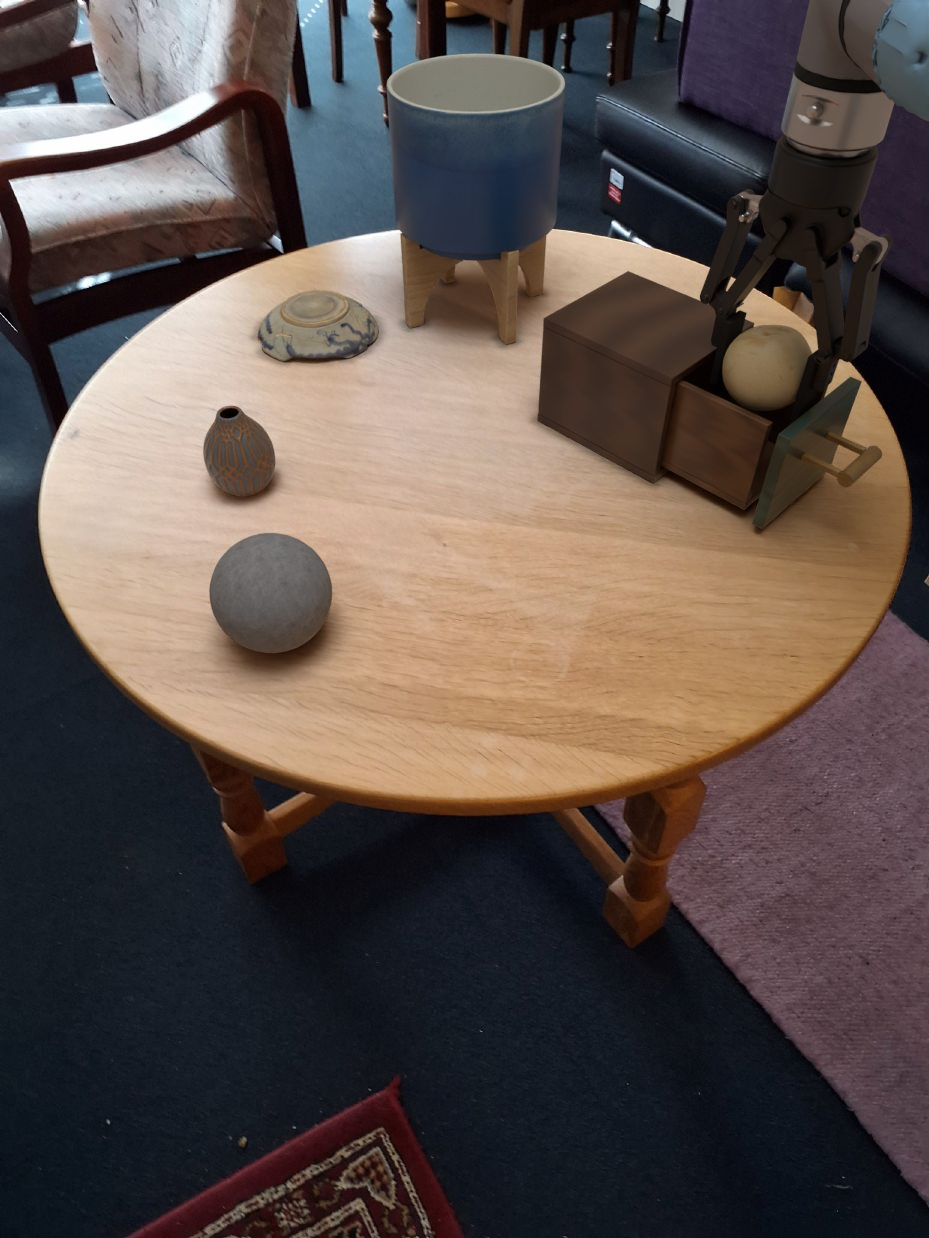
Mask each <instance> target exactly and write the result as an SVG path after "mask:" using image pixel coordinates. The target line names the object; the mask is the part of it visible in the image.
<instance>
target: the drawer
mask: <svg viewBox="0 0 929 1238" xmlns="http://www.w3.org/2000/svg"><path fill="white" fill-rule="evenodd" d="M714 360H715V357H714V358H712V359H711V360H709V361H708V362H706V363H705V364H703V365H702V366H700V367H699V368H697V369H696V370H695V371H693V372H692V373H690V374H689V375H687V376H686V377H684V378H683V379H681V380H680V381H678V382H677V383H676V387H675V392H674V397H673V402H672V408H671V413H670V418H669V424H668V429H667V434H666V439H665V445H664V450H663V455H662V461H661V466H662V467H664V468H666V469H668V470H670V471H669V472H671V473H673V474H676V475H677V476H679V477H681V478H683V479H685V480H687V481H688V482H691V483H692V484H694V485H696V486H699V487H700V488H701V489H704V490H705V491H708V492H710V493H711V494H713V495H715V496H717V497H718V498H721V499H722V500H724V501H727V502H729V503H730V504H732V505H733V506H736V507H738V508H740V509H741V510H746V509H747V508H748V507H749V506H751V505H752V504H753V503H754V502H755V501H757V499H758V501H757V505H756V508H755V511H754V515H753V516H752V517H753V518H752V521H751V524H752V525H754V526H756V527H758V528H759V529H760V530H763V529H764V528H765V527H766V526H767V525H769V524H770V523H771V522H772V521H773V520H775V518H776V517H778V516H779V514H782V512H783V511H784V510H786V509H787V508H788V507H789V506H790V505H792V504H793V503H794V502H795V501H796V500H797V499H799V497H800V496H801V495H803V494H804V493H805V492H806V491H807V490H809V488H811V487H812V486H813V485H814V484H816V483H817V481H819V480H820V479H821V478H822V477H823V476H824V475H826V474H828V475H831V476H833V477H835V478H836V481H837V483H838V485H839V486H841V487H843V488H850V487H851V486H853V485H854V484H855V483H856V482H857V481H858V480H859V479H860V478H862V476H864V475H865V473H867V472H868V471H869V470H870V469H871V468H872V467H873V466H874V465H876V463H878V462H879V461H880V460H881V459H882V457H883V451H882V449H881V448H880V447H879V446H877V445H870V446H868V447H865V446H863V445H862V444H859V443H857V442H855V441H852V440H850V439H848V438H846V437H844V436H843V435H844V433H845V429H846V426H847V424H848V423H847V422H848V420H849V417H850V414H851V412H852V410H853V407H854V404H855V401H856V398H857V396H858V393H859V391H860V387H861V385H862V380H860V379H857V378H855V377H853V376H849V377H848V378H847V379H846V380H844V381H843V382H841V383H840V384H839V385H838V386H836V387H835V388H834V389H833V390H832V391H830V392H829V393H828V394H827V391H828V388H829V385H828V386H827V387H826V388H825V389H823V390H822V391H821V392H819V391H818V393H817V396H816V399H815V402H814V405H813V407H812V408H811V409H809V410H808V411H807V412H806V413H804V414H803V415H802V416H801V417H799V418H798V419H797V420H796V421H792V420H789V419H790V415H791V412H792V409H793V405H794V402H795V401H794V402H793V403H792V404H790V405H788V406H786V407H784V408H781V409H778V410H772V411H754V410H750V409H747V408H745V407H743V406H741V405H740V404H739V403H737V402H736V401H735V400H734V399H733V398H732V396H731V395H730V394H729V392H728V391H727V389H726V387H725V385H724V382H723V381H722V382H721V383H719V384H718V385H713V384H711V383H710V378H711V374H712V369H713V365H714ZM826 394H827V395H826ZM839 446H840V447H841V448H845V449H846V450H849V451H851V452H852V453H855V454H857V455H858V456H857V457H855V459H853V460H852V461H851V462H850V463H849V464H848V465H847V466H846V467H845V468H843V469H842V468H839V467H837V466H835V465H833V461H834V459H835V456H836V454H837V452H838V451H837V450H838V448H839Z"/></svg>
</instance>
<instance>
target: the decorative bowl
mask: <svg viewBox="0 0 929 1238" xmlns="http://www.w3.org/2000/svg"><path fill="white" fill-rule="evenodd" d="M378 335H379V325H378V321H377V320H376V319H375V317H374V315H372V313H371V312H370V311H369V309H367V308H366V307H365V306H363V304H362V303H360V302H358V301H357V300H355V299H353V298H351V297H348V296H346V295H343V294H341V293H339V292H337V291H332V290H326V289H316V290H306V291H302V292H299V293H295V294H293V295H291V296H290V297H288V298H287V299H285V300H284V301H283V302H280V303H278V304H277V305H276V306H275V307H273V308H272V309H271V310H270V311H269V312H268V313H267V314H266V316H265V317H264V319H263V320H262V322H261V323H260V326H259V328H258V330H257V337H259V338H261V346H262V347H261V349H262V351H263V352H264V353H265V354H267V355H268V356H269V357H271V358H275V359H276V360H278V361H281V362H284V363H285V362H286V361H288V360H290V359H293V358H295V359H297V358H303V359H328V358H344V359H352V358H353V357H355V356H358V355H360V354H361V353H363V352H364V351H365V350H367V349H368V345H371V344H372V343H374V342H375V341H376V340H377V338H378Z"/></svg>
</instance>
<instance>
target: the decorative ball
mask: <svg viewBox="0 0 929 1238" xmlns="http://www.w3.org/2000/svg"><path fill="white" fill-rule="evenodd" d="M223 553H224V554H222V556H220V558H219V559H218V561H217V563H216V565H215V567H214V569H213V572H212V575H211V578H210V583H209V589H208V590H209V591H208V593H209V602H210V608H211V611H212V614H213V616H214V618H215V620H216V622H217V624H218V626H219V627H220V629H221V630H222V631H223V632H224V633H225V634H226V635H227V637H229V638H230V639H231V640H232V641H234V643H237V644H238V645H240V646H241V647H243V648H246V649H247V650H251V651H253V652H258V653H265V654H278V653H286V652H289V651H292V650H295V649H297V648H299V647H301V646H302V645H304V644H306V643H307V642H309V641H310V640H311V639H313V637H315V636H316V634H318V632H319V631H320V630H321V629H322V627H323V626H324V625H325V622H326V620H327V618H328V616H329V614H330V611H331V607H332V602H333V584H332V579H331V576H330V572H329V570H328V568H327V565H326V564H325V562H324V560H322V558H321V556H320V555H319V554H318V553H317V551H315V550H314V548H313V547H311V546H310V545H308V544H307V543H305V542H304V541H302V540H301V539H299V538H296V537H294V536H291V535H289V534H283V533H278V532H263V533H257V534H253V535H250V536H247V537H244V538H243V539H241V540H239V541H237V542H236V543H234V544H233V545H231V546H230V547H229V548H227V550H226V552H223Z"/></svg>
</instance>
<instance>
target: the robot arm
mask: <svg viewBox="0 0 929 1238" xmlns="http://www.w3.org/2000/svg"><path fill="white" fill-rule="evenodd" d="M894 105H896V106H897V107H902V108H903V109H904V110H906V112H908V113H910V114H914V115H915V116H917V117H918V118H920V119H922V120H925V121H926V122H929V0H809V2H808V7H807V11H806V15H805V20H804V25H803V29H802V34H801V38H800V43H799V48H798V52H797V55H796V61H795V65H794V69H793V73H792V78H791V82H790V85H789V91H788V94H787V99H786V102H785V107H784V111H783V116H782V120H781V125H780V130H781V131H782V133H783V134H782V136H781V137H780V138H778V139H777V141H776V144H775V148H774V153H773V157H772V161H771V167H770V170H769V171H770V172H769V174H768V179H767V184H768V185H767V186H768V187H767V189H766V191H765V193H764V194H763V195H759V194H756V193H755V191H754V190H753V189H751V188H748V189H747V188H746V189H745V190H743V191H741V192H740V193H737V194H736V195H734V196H732V197H731V198H729V199H728V200H727V203H726V216H725V217H726V218H725V221H726V222H725V226H724V229H723V232H722V235H721V237H720V240H719V243H718V246H717V248H716V250H715V253H714V256H713V258H712V261H711V264H710V267H709V270H708V272H707V275H706V277H705V280H704V282H703V285H702V288H701V291H700V293H699V300H700V301H701V302H702V303H703V304H709V305H710V306H712V307H713V308H714V310H715V314H716V318H715V323H714V328H713V332H712V337H711V344H712V345H713V346H715V347H717V351H716V356H715V360H714V365H713V369H712V374H711V378H710V383H711V384H713V385H718V384H719V383H721V382H722V381H723V376H722V367H723V360H724V356H725V353H726V351H727V349H728V347H729V346H730V344H731V343H732V342H733V341H734V339H735V338H736V337H738V336H739V335H740V334H741V333H742V330H743V326H744V322H745V319H746V317H747V312H746V311H743V310H741V309H739V310H738V308H740V307H741V306H743V305H744V304H745V300H746V299H747V298H748V296H749V295H750V294H751V292H752V291H753V289H755V287H756V286H757V284H758V283H759V281H760V280H762V278H763V276H764V275H765V274H766V272H767V271H768V270H769V268H770V267H771V266H772V264H773V263H774V262H775V261H776V259H781V260H789V261H792V262H794V263H796V264H797V265H798V266H800V267H803V268H805V272H806V279H807V281H808V282H809V283H810V287H811V296H812V306H813V315H814V324H815V333H816V344H817V349H816V350H815V351H814V352H812V354H811V355H810V356H808V360H807V363H806V366H805V369H804V373H803V376H802V379H801V383H800V386H799V389H798V392H797V396H796V399H795V402H794V405H793V409H792V412H791V415H790V419H789V420H792V421H796V420H797V419H798V418H799V417H801V416H802V415H803V414H804V413H806V412H807V411H808V410H809V409H811V408H812V407H813V405H814V402H815V399H816V396H817V393H818V391H819V392H821V391H822V390H823V389H825V388H826V387H827V386H828V387H829V386H830V384H831V383H832V382H833V379H834V376H835V373H836V372H837V371H836V370H837V368H838V365H839V361H840V360H842V362H845V363H850V362H852V361H853V360H854V359H856V358H857V357H859V356H860V355H861V354H862V353H863V352H864V351H866V350H867V349H868V346H869V341H870V335H871V329H872V324H873V323H872V322H873V317H874V311H875V305H876V299H877V293H878V287H879V282H880V275H881V268H882V264H883V262H884V260H885V259H886V257H887V256H888V253H889V251H890V249H891V247H892V246H893V242H894V241H893V237H892V236H891V235H890V234H889V233H882V234H880V235H879V236H878V235H876V234H875V233H872V232H871V231H869V230H867V229H865V228H864V227H862V218H861V209H862V206H863V203H864V200H865V198H866V196H867V192H868V189H869V186H870V182H871V179H872V177H873V173H874V171H875V168H876V167H875V166H876V163H877V160H878V157H879V154H880V153H879V149H878V147H877V145H878V144H880V143H881V142H883V140H884V138H885V136H886V133H887V129H888V126H889V123H890V119H891V116H892V112H893V109H894ZM758 216H759V218H760V221H761V224H762V227H763V231H764V233H765V236H764V237H763V238H762V240H761V241H760V242H759V244H758V245H757V246H756V248H755V249H754V251H753V252H752V256H751V258H750V259H749V260H748V262H747V263H746V264H745V266H744V267H743V269H742V270H741V271H740V273H739V274H738V275H737V277H736V278H735V280H734V281H733V282H732V284H731V285H730V286H729V283H730V281H731V278H732V276H733V274H734V272H735V268H736V266H737V265H738V261H739V258H740V256H741V253H742V251H743V249H744V246H745V244H746V241H747V239H748V236H749V233H750V232H751V228H752V227H753V222H754V220H756V219H757V218H758ZM849 243H850V244H851V245H852V248H853V252H852V257H851V260H852V261H853V262H854V263H855V264H854V266H853V269H852V272H851V277H850V282H849V283H850V284H849V290H848V297H847V304H846V311H845V314H844V307H843V296H842V294H843V293H842V286H841V285H842V283H841V269H842V266H843V259H842V249H843V248H844V247H845V246H847V245H848V244H849ZM728 286H729V288H728ZM727 288H728V289H727ZM844 315H845V318H844Z"/></svg>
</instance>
